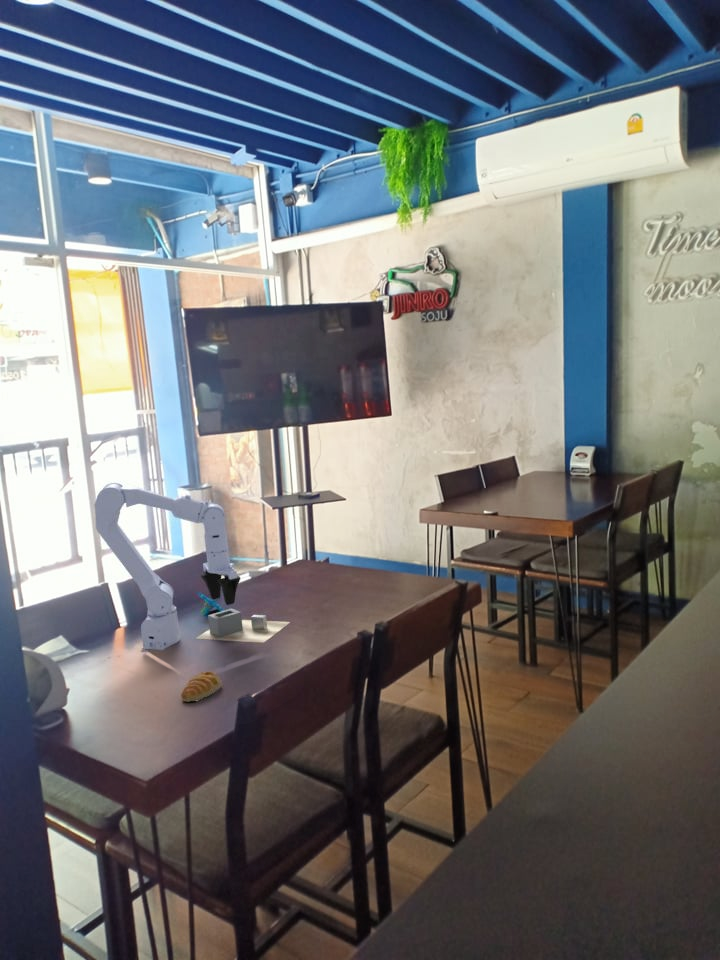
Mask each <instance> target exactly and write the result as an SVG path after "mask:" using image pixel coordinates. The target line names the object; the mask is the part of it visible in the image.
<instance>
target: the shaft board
mask: <svg viewBox="0 0 720 960" xmlns="http://www.w3.org/2000/svg"><path fill="white" fill-rule="evenodd" d="M266 621H267V629H265V630H252V622H251V619H242V626H243V631H239V632H236V633H233V634H230V635H227V636H224V637H221V638H218V637H216V636H214V635H212V634H210V629H207V630H206V631H205V632H203V633H202V634H200V635H198V636H197V637H195V639H196V640H197V639H198V640H215V641H225V642H226V641H228V642H231V641H232V642H243V643H244V642H245V643H246V642H247V643H262V644H264V643H266V642H267V641H268V640H269V639H271V638H272V637H273V636H274V635H276V634H277V633H279V632H280V631H281V630H282V629H283V628H285V627H286V626H288V625H290V623H291V622H290V621H276V620H275V621H273V620H266Z"/></svg>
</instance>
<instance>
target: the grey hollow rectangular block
mask: <svg viewBox="0 0 720 960" xmlns="http://www.w3.org/2000/svg"><path fill="white" fill-rule="evenodd" d="M207 618H208V627H209V629H210V634H212V635H214V636H216V637H218V638H221V637H224V636H227V635H230V634H233V633H236V632H239V631H243V626H242V620H243V619H242V612H241V611H240V610H237V609H234V608H228V609H224V611H218V612H215V613H212V614H207ZM209 629H208V630H209Z"/></svg>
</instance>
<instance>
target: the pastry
mask: <svg viewBox="0 0 720 960" xmlns="http://www.w3.org/2000/svg"><path fill="white" fill-rule="evenodd" d="M222 685H223V683H222V680H221V679H220V678H219V676H218V675H217V673H215V672H214V671H210V670H207V671H205V672H200V674H198V675H197V676H195V677H193V678H191V679H190V680H189V681H188V683H187V684H186V685H185V686H184V688H183V690H182V692H181V694H180V696H181V699H182V702H187V703H188V702H190V701H196V700H199V699H201V698H204V697H206V696H209V695H210V694H211V693H213V692H214V691H216V690H218V689H219V688H220V687H222ZM220 689H221V688H220ZM220 689H219V690H220ZM219 690H218V691H219ZM216 692H217V691H216ZM213 694H214V693H213ZM210 696H211V695H210ZM210 696H209V697H210ZM204 699H205V698H204ZM201 700H202V699H201ZM199 701H200V700H199Z"/></svg>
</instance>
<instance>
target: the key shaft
mask: <svg viewBox="0 0 720 960" xmlns="http://www.w3.org/2000/svg"><path fill="white" fill-rule="evenodd" d="M250 620H251V622H252V630H265V629H267V621H268V620H267V615H264V614H253V615H252V616H250Z"/></svg>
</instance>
